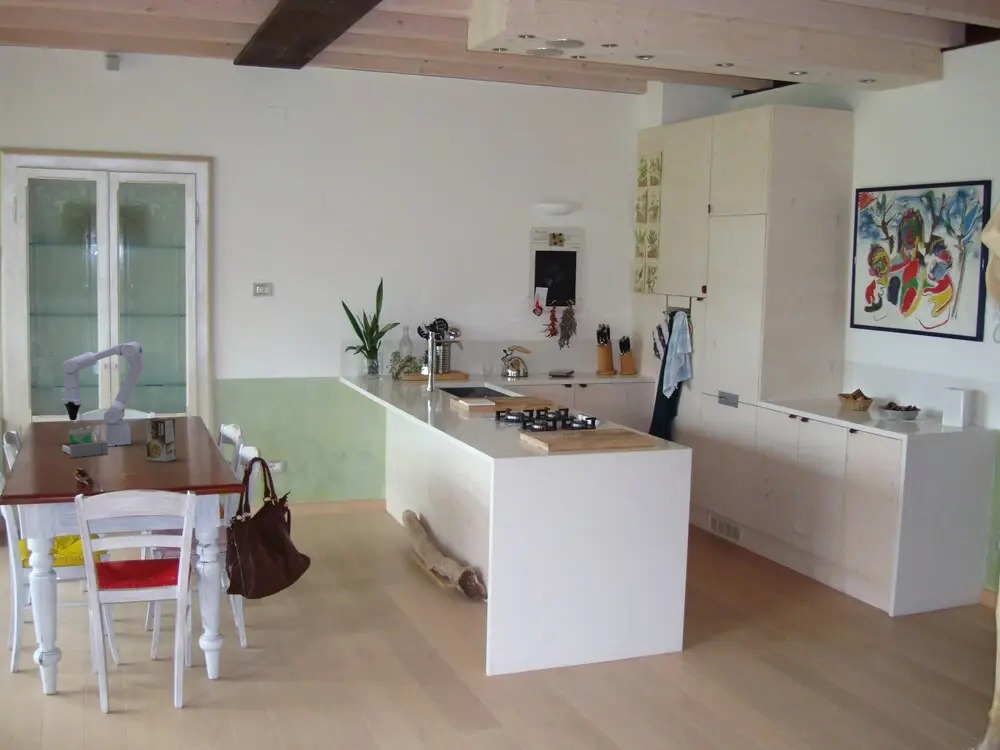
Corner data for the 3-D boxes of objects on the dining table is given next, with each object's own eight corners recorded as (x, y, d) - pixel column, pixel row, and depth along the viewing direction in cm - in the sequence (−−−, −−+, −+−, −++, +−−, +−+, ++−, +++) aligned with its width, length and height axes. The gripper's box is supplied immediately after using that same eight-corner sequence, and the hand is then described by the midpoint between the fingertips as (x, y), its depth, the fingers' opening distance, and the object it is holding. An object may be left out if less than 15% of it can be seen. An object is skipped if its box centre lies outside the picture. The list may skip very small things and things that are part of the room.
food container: (83, 454, 413) (82, 430, 412) (69, 454, 414) (68, 429, 413) (100, 449, 425) (99, 425, 424) (86, 448, 426) (86, 424, 425)
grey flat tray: (94, 448, 427) (93, 436, 426) (107, 454, 414) (107, 442, 414) (58, 452, 418) (58, 439, 418) (71, 458, 405) (71, 445, 405)
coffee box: (176, 459, 407) (175, 418, 405) (166, 462, 401) (165, 420, 399) (157, 457, 410) (156, 417, 408) (146, 460, 404) (145, 419, 402)
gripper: (56, 386, 435) (57, 418, 436) (67, 390, 424) (68, 423, 425) (74, 385, 439) (75, 417, 441) (85, 389, 428) (86, 421, 430)
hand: (73, 420), depth 433 cm, fingers closed
